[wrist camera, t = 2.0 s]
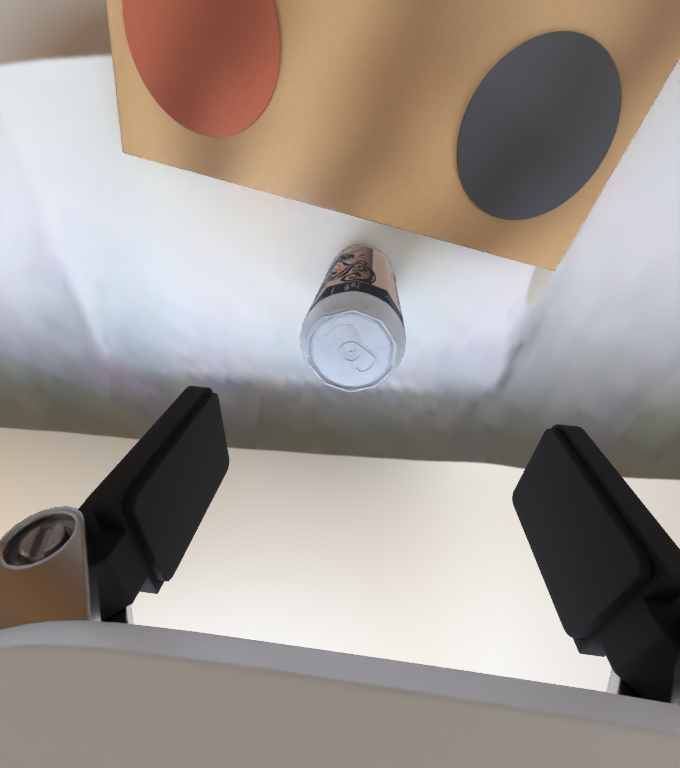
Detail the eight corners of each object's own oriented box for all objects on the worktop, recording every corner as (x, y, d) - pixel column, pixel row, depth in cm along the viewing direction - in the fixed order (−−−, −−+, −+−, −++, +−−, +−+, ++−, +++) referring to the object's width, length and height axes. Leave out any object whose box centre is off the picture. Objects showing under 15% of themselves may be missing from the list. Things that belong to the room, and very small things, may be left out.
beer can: (356, 228, 22) (341, 273, 12) (407, 273, 24) (431, 348, 14) (315, 283, 25) (274, 359, 15) (364, 322, 26) (358, 416, 16)
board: (137, 154, 21) (118, 152, 20) (108, -167, 15) (77, -206, 13) (544, 266, 23) (557, 272, 21) (683, 19, 16) (716, 3, 15)
